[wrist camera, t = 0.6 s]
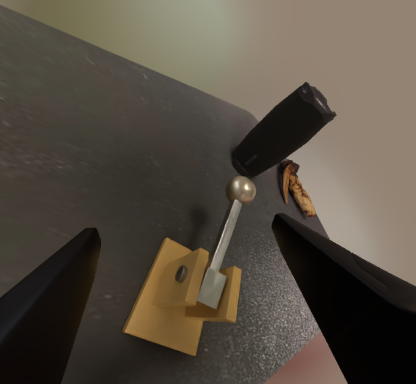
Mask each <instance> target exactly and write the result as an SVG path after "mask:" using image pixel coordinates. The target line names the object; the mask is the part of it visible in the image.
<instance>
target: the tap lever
mask: <svg viewBox="0 0 416 384" xmlns="http://www.w3.org/2000/svg"><path fill="white" fill-rule="evenodd" d="M255 194H256V188H255V185H254V183H253V182H252V181H251V180H250V179H249V178H247V177H244V176H238V177H235V178H233V179H231V180H230V181H229V182H228V184H227V186H226V196H227V198H228V200H229V201H230V204H229V207H228V209H227V212H226V215H225V217H224V220H223V222H222V225H221V228H220V230H219V233H218V236H217V238H216V241H215V243H214V246H213V249H212V251H211V254H210V257H209V259H208V262H207V264H206V266H205V270H204V274H203V278H202V282H201V286H200V290H199V294H198V298H197V301H198V302H200V303H203V304H205V305H207V306H210V307H212V308H214V309H217V306H218V303H219V300H220V297H221V294H222V291H223V287H224V284H225V281H226V278H227V276H225V275H223V274H221V273H219V270H220V267H221V264H222V261H223V258H224V256H225V253H226V250H227V247H228V244H229V241H230V238H231V235H232V232H233V229H234V226H235V223H236V221H237V218H238V215H239V212H240V209H241V206H244V205H247V204H249V203H250V202H251V201H252V200H253V199H254V197H255Z"/></svg>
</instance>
